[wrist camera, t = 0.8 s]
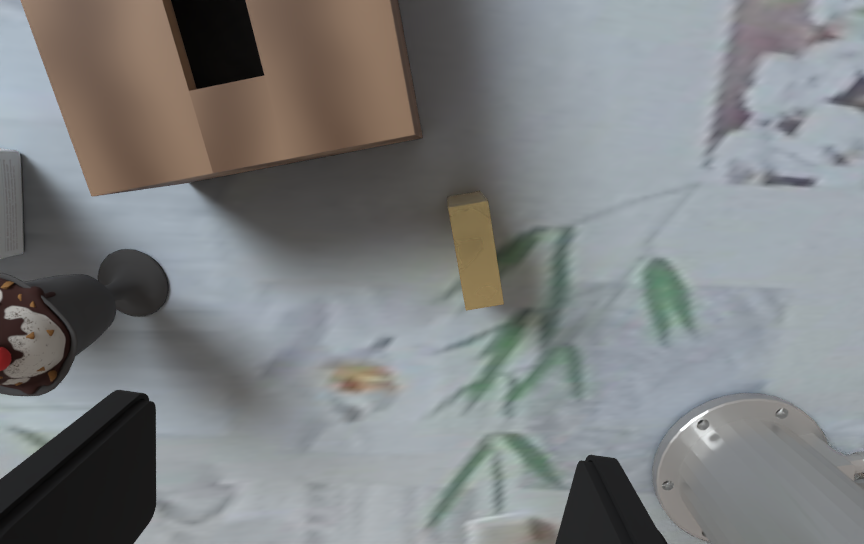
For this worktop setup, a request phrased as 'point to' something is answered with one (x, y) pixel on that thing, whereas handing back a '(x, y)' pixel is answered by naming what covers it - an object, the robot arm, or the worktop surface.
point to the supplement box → (11, 204)
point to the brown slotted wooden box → (222, 88)
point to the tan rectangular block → (475, 250)
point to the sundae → (69, 317)
